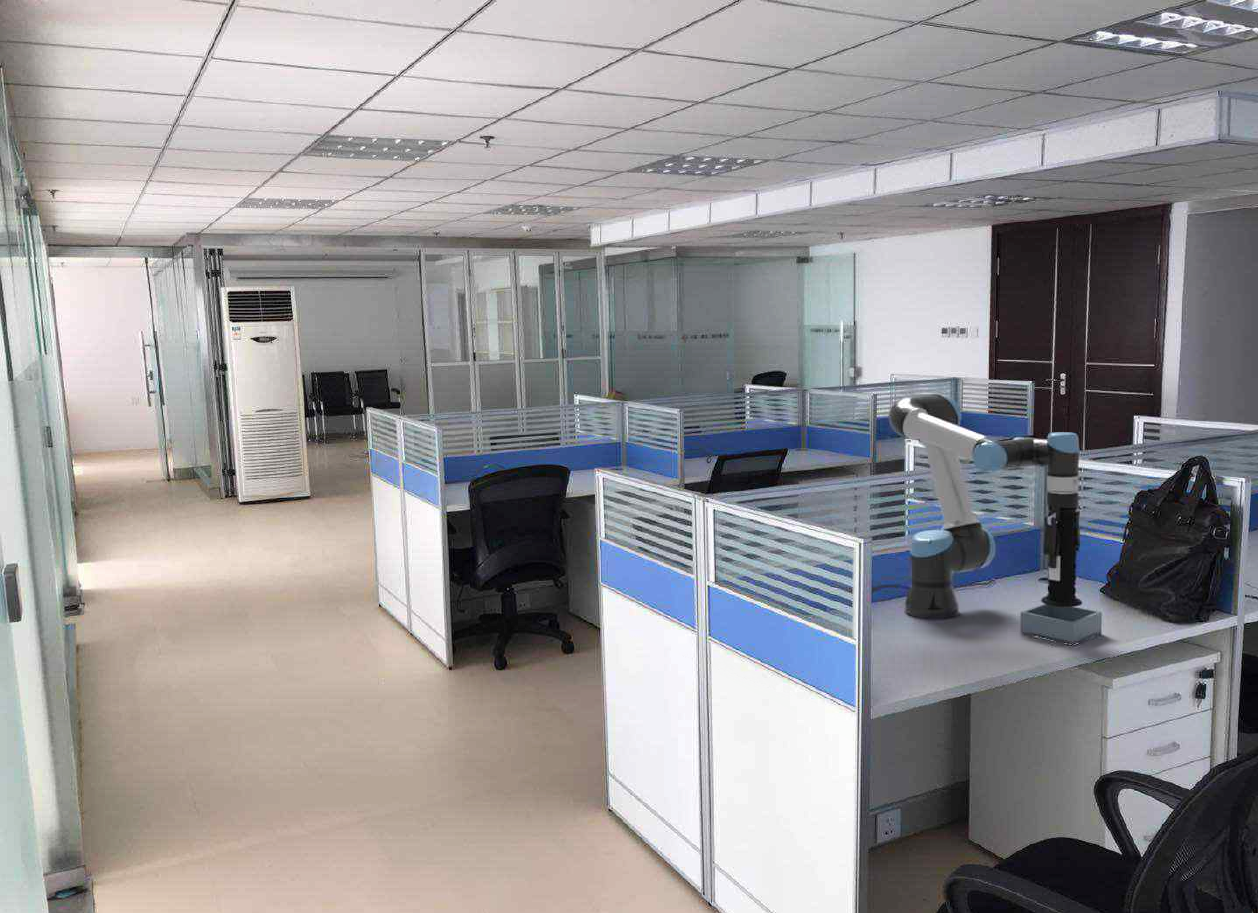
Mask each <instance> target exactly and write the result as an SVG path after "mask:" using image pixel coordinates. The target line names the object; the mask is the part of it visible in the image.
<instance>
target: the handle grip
mask: <svg viewBox="0 0 1258 913" xmlns="http://www.w3.org/2000/svg"><path fill="white" fill-rule="evenodd" d="M1077 507H1078V506H1077ZM1077 507H1075V508H1062V509H1060V510H1059V511H1060V512H1061V521H1060V522H1057V523H1056V526H1057V527H1056V530H1058V533H1059V529H1060V528H1061V527H1062V526H1063V530H1062V531H1061V537H1060V538H1061V543H1060V548H1059V553H1058V556H1060V581H1056V580H1050V579H1049V556H1048V557H1047V560H1048V561H1047V567H1048V569H1047V572H1048V573H1047V579H1048V580H1047V584H1048V585H1047V592H1048V593H1047V594H1046V595H1045V596H1043V597H1042V598H1041V599H1040V602H1042V604H1044V603H1045V604H1048V605H1052V606H1060V607H1079V606H1081V605H1083V601H1082V600H1081V599H1080V598H1077V596H1076V593H1077V589H1076V585H1077V583H1076V581H1077V575H1076V573H1077V571H1076V570H1077V563H1076V562H1077V551H1076V550H1075V549H1076V538H1075V537H1076V536H1077V535H1076V532H1077V528H1076V524H1077V523H1076V520H1077V515H1076V511H1077V509H1078V508H1077ZM1051 512H1052V508H1051V507H1049V506H1048V515H1047V517H1050V516H1051ZM1056 521H1057V519H1056Z"/></svg>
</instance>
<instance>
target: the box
mask: <svg viewBox="0 0 1258 913" xmlns="http://www.w3.org/2000/svg"><path fill="white" fill-rule="evenodd" d="M1102 615H1103V614H1102V611H1098V610H1094V609H1089V608H1085V607H1079V606H1074V607H1060V606H1052V605H1048V604H1045V603H1042V604H1038V605H1036V606H1034V607H1030V608H1028V609H1025V610H1022V611H1020V619H1019V620H1020V621H1019V622H1020V624H1019V626H1020V628H1019V630H1020V631H1019V632H1020V633H1021V634H1020V635H1023V634H1024V636H1027V635H1029V636H1028V637H1032V636H1038V637H1041V638H1046V639H1049V640H1053V641H1056V642H1055V643H1058V642H1060V643H1059V644H1062V643H1067V644H1071V645H1074V644H1076V643H1079V644H1082V643H1083V642H1082V641H1084V642H1086V641H1088V640H1090V639H1089V638H1091V637H1093V636H1095V637H1097V635H1098V636H1099V634H1100V635H1102V626H1103V625H1102V624H1103V622H1102V619H1103V618H1102ZM1093 638H1094V637H1093ZM1087 639H1088V640H1087ZM1091 639H1092V638H1091ZM1049 640H1048V641H1049ZM1085 640H1086V641H1085ZM1053 641H1052V642H1053ZM1067 644H1066V645H1067ZM1071 645H1070V646H1071Z"/></svg>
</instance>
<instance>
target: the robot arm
mask: <svg viewBox="0 0 1258 913" xmlns="http://www.w3.org/2000/svg"><path fill="white" fill-rule="evenodd" d="M961 420H962V412H961V408H960V406H959V404H958V402H957V401H956V400H955V399H954V398H953V397H950V396H949V395H946V394H937V393H935V394H934V393H933V394H926V395H916V396H915V395H914V396H912V395H911V396H905V397H902V398H900V399H898V400H897V401H895V402H894V403H893V405H891V407H890V409H889V413H888V422H889V425H890V427H891V428H892V430H893V431H894V432H895V433H896V434H898V435H900V436H901V437H904V438H906V439H909V440H912V441H914V440H917V441H918V444H920V445H921V446H924V447H925V452H926V455H927V458H928V459H927V460H928V463H929V464H928V465H929V467H930V473H931V475H932V480H933V483H934V486H935V487H934V488H935V491H936V496H937V498H938V502H939V507H940V511H941V515H942V518H943V522H944V524H943V526H942V527H941V529H933V530H931V529H930V530H929V529H928V530H924V531H923V530H922V531H920V532H917V533H916V534H914V535H913V536H911V540H910V548H909V556H910V558H909V559H910V586H909V589H908V592H907V596H906V598H905V601H904V612H905V613H906V614H908V615H909V616H912V617H917V618H921V619H922V618H923V619H933V620H937V619H938V620H940V619H941V620H942V619H948V618H953V617H956V616H958V615H959V614H960V608H959V606H960V605H959V603H958V600H957V597H956V594H955V591H954V589H953V575H954V574H959V573H963V572H970V571H971V572H972V571H978V570H981V569H982V568H983V569H984V568H985V567H988V566H989V565H990V564H991V563H992V561H993V559H994V557H995V555H996V543H995V539H994V536H993V535H992V534H991V533H990V532H989V531H988V530H987V529H985V528H983V526H982V522H981V521H980V520H979V519H977V518H976V517H975V516H974V512H973V509H972V505H971V501H970V496H969V494H968V493H969V492H968V490H967V485H966V481H965V477H964V474H963V470H962V465H961V461H960V458H959V456H960V457H962V458H965V459H967V460H969V461H972V462H973V464H974V466H976V467H977V469H978V470H980V471H982V472H998V471H1003V470H1008V469H1009V470H1010V469H1016V468H1026V467H1042V468H1046V470H1047V471H1046V472H1047V474H1046V477H1047V478H1046V479H1047V480H1046V482H1047V483H1046V490H1047V491H1048V492H1046V504H1047V506H1048V507H1051V508H1052V512H1051V516H1050V517H1048V516H1045V517H1044V527H1045V528H1044V541H1043V554H1044V555H1045V556H1048V557H1049V560H1048V561H1049V568H1048V569H1049V579H1050V580H1056V581H1060V556H1058V553H1059V548H1060V543H1061V538H1060V537H1061V531H1062V530H1063V526H1062V527H1061V528H1060V529H1059V533H1058V530H1056V527H1057V526H1056V523H1057V522H1060V521H1061V512H1060V511H1059V510H1060V509H1062V508H1075V507H1078V506H1079V493H1078V492H1077V491H1079V484H1080V480H1079V462H1080V461H1079V459H1080V443H1079V442H1080V441H1079V436H1078V434H1076V433H1075V432H1064V431H1062V432H1060V431H1058V432H1055V431H1054V432H1050V433H1048V435H1047V439H1045V438H1035V437H1029V436H1025V437H1024V436H1020V437H1019V436H1018V437H1015V438H1013V439H1011V440H1010V439H1008V440H997V439H993V438H992V437H989V436H986V435H984V434H981V433H979V432H975V431H973V430H971V429H968V428H965V427H963V426H960V425H961ZM1080 514H1081V512H1080V510H1076V515H1077V520H1076V523H1077V524H1076V528H1077V532H1076V535H1077V536H1076V537H1075V538H1076V549H1075V550H1076V552H1079V551H1080V547H1081V536H1080V516H1081V515H1080ZM1056 519H1057V521H1056Z"/></svg>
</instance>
